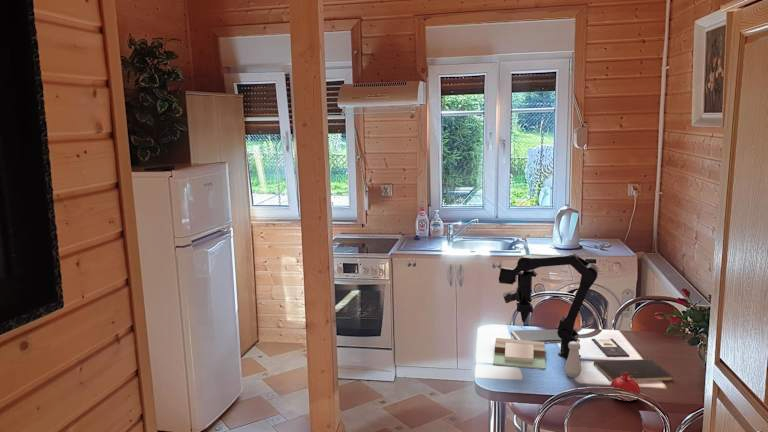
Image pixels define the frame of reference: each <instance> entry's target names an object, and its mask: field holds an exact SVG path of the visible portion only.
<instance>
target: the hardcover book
mask: <svg viewBox="0 0 768 432" xmlns="http://www.w3.org/2000/svg"><path fill="white" fill-rule="evenodd" d="M593 366H595V367H596V368H597V370H599V371H600V372H601V373H602V374H603V375H604V376H605V377H606V378H607V379H608V380H609V381H610V382H612V381H613V380H615V379H616V378H615V377H621V376H622V375H620V374H623V375H624V376H625V374H624V372H627V377H628V376H630V375H631V376H632V377H631V376H630V377H629V378H635V379H634V380H635V382H655V381H656V382H657V381H672V378H673V375H672V374H671V373H669V372H668V371H667V370H666V369H664V368H663V367H662V366H661V365H659V364H658V363H657V362H655V360H653V359H652V358H649V359H648V358H647V359H646V358H644V359H641V358H640V359H621V360H619V359H618V360H615V359H614V360H594V361H593ZM637 379H638V380H637Z"/></svg>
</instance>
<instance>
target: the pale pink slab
mask: <svg viewBox="0 0 768 432" xmlns="http://www.w3.org/2000/svg"><path fill="white" fill-rule="evenodd" d="M505 360H510V361H521V362H533V345H530V344H517V343H506V346H505Z"/></svg>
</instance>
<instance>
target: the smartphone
mask: <svg viewBox="0 0 768 432" xmlns="http://www.w3.org/2000/svg"><path fill="white" fill-rule="evenodd" d="M557 331H558V329H557V328H556V329H555V328H554V329H524V330H523V329H522V330H521V329H520V330H519V329H517V330H516V329H515V330H511V331H510V334H511V336H513V337H514V338H513V339H515V340H528V341H540V342H557V343H562V339H561V338H560V337H559V336H558V334H557ZM577 341H579V342H580V341H581V340H580V338H579V337H578V340H577Z"/></svg>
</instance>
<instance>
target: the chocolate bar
mask: <svg viewBox="0 0 768 432" xmlns="http://www.w3.org/2000/svg"><path fill="white" fill-rule="evenodd" d="M591 341H592V342H593V343H594V344H595V345H596V346H597V347H598V348H599V350H600V351H602V354H604V355H605V357H609V358H611V357H612V358H613V357H614V358H617V357H618V358H619V357H621V358H622V357H626V358H627V357H629V358H630V354H629V353H628V352H627V351H626V350H625V349H623V347H621V346H620V345H619V344H618V343H617V342H616V341H615V340H614V339H613V338H591Z"/></svg>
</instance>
